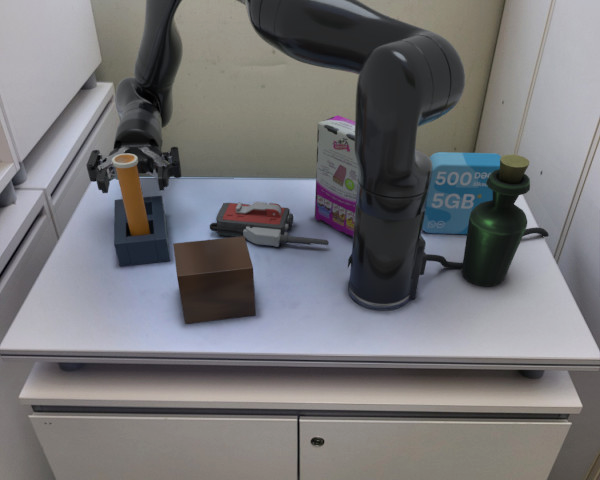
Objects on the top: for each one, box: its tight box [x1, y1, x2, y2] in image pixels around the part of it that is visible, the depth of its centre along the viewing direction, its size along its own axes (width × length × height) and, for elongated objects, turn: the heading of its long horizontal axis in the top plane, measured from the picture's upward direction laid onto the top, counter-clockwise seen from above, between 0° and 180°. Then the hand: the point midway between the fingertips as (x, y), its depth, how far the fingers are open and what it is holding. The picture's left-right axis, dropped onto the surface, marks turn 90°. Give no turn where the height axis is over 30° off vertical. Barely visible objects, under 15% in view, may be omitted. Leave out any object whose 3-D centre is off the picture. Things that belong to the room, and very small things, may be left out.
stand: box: [172, 236, 257, 325], centre depth 83 cm, size 10×8×8 cm
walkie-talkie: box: [209, 201, 329, 248], centre depth 97 cm, size 9×4×20 cm
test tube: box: [112, 153, 150, 236], centre depth 89 cm, size 4×4×15 cm
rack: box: [113, 195, 171, 267], centre depth 95 cm, size 8×14×4 cm, turn 12°
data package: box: [422, 151, 502, 235], centre depth 96 cm, size 12×4×12 cm, turn 88°
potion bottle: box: [461, 154, 531, 287], centre depth 84 cm, size 8×8×18 cm
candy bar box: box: [314, 115, 359, 239], centre depth 95 cm, size 11×5×16 cm, turn 44°
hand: (132, 186), depth 89 cm, fingers open, 8 cm apart
